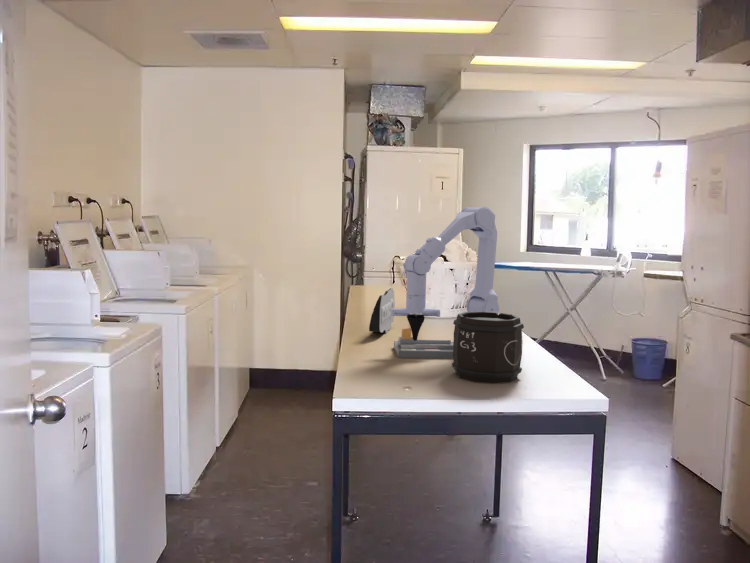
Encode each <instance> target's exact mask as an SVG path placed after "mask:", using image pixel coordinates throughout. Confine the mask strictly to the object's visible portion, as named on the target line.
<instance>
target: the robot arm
mask: <svg viewBox="0 0 750 563" xmlns="http://www.w3.org/2000/svg"><path fill="white" fill-rule="evenodd" d="M495 220H496V214H495V213H494V212H493V211H492V209H490V208H489V207H486V206H482V207H472V206H467V207H464V208H462V210H461V211H460V212H458V213H457V214H456V216H455V218H454V219H453V220H452V221H451V222H450V223H449V225H448V226H446V227H445V228H444V230H442V232H441V233H439V235H438V236H432V237H428V238H427V239H425V243H424V244H423V245H422V246H421V247H420V248H417V249H416V250H415V251H414V254H413V253H412V254H410V255H408V256H407V257H406V259H405V261H404V263H402V264H403V265H402V266H403V269H404V270H405V272H406V295H405V296H406V302H405V308H394V309H391V316H394V317H406V318H407V321H408V324H409V328H410V329H411V337H412V338H413V339H414V341H417V340H418V337H419V332H420V330H421V327H422V326H423V324H424V322H425V320H426V319H425V317H438V318H441V310H440V309H435V308H434V309H432V308H426V298H427V296H426V295H427V291H426V290H427V273H429V272H430V270H431V268H432V267H431V266H432V264H433V263H434V262H435V261H437V260H438V258H440V256H442V255H443V254H444V252H445V251H446V245H448V244H449V243H450V242H451V241H452V240H453V239H454V238H456V237H458V235H459V234H460V233H462V232H463V231H465V230H470V231H471V232H473V233H474V234H475V235H476V236H477V238H478V247H477V248H478V249H477V260H476V273H475V285H474V288H473V289H472V290H471V292H470V293H469V297H468V298H469V299H468V300H467V303H466V312H496V313H498V314H500V305H499V301H498V300H499V299H498V298H499V296H498V294H497V293H496V292H495V290H494V278H495V277H494V276H495V268H496V267H495V265H496V264H495V263H496V252H497V242H498V231H497V228H496V224H495V223H496V222H495Z"/></svg>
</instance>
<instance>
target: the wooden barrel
mask: <svg viewBox="0 0 750 563" xmlns="http://www.w3.org/2000/svg"><path fill="white" fill-rule="evenodd" d="M452 324H453V325H454V329H453V342H454V343H453V358H452V360H453V362H452V363H451V367H452V368H453V370H454V373H455V375H456V376H457V377H458V378H459V379H462V380H466V381H470V382H472V383H485V384H504V383H512V382H513V381H514V380H517V379H518V376H519V374H520V373H522V371H523V368H522V367H521V363H522V355H523V329H524V328H525V326H524V323H522V322H521V318H520V317H518V316H517V315H513V314H510V313H506V312H499V313H496V312H468V311H464V312H461V313H457V316H456V319H454V320H453V323H452Z"/></svg>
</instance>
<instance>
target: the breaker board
mask: <svg viewBox="0 0 750 563" xmlns="http://www.w3.org/2000/svg"><path fill="white" fill-rule="evenodd" d="M453 343H454V341H451V339H417V341H414V343H413V344H401V346H400V345H399V338H398V340H393V349H394V351H395V353H396V356H397V357H398V359H453Z"/></svg>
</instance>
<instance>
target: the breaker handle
mask: <svg viewBox="0 0 750 563" xmlns="http://www.w3.org/2000/svg"><path fill="white" fill-rule="evenodd" d="M398 339H399V345H400V346H401V344H413V343H414V339H413V336H412V331H411V327H401V336H398Z"/></svg>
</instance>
